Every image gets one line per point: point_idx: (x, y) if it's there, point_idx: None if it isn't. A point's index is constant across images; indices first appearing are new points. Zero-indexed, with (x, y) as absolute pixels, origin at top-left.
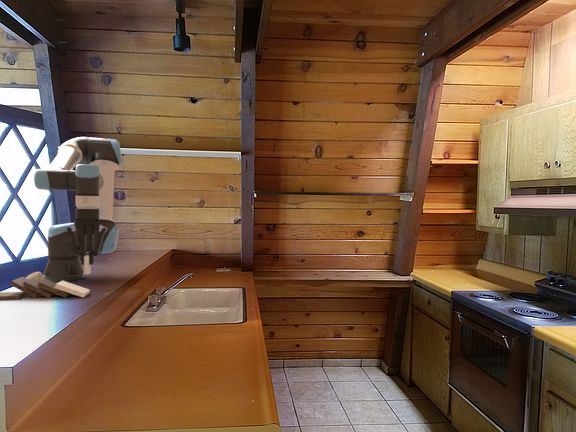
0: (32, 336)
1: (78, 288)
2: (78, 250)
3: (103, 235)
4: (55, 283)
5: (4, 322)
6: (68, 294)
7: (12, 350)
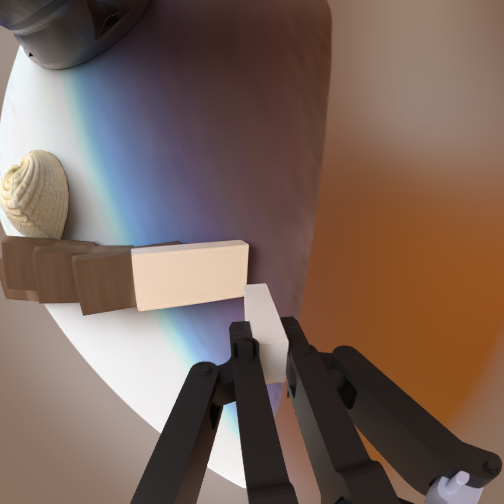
0: (237, 463)
1: (213, 275)
2: (220, 415)
3: (443, 442)
4: (114, 261)
5: (157, 430)
6: None
7: (235, 479)
